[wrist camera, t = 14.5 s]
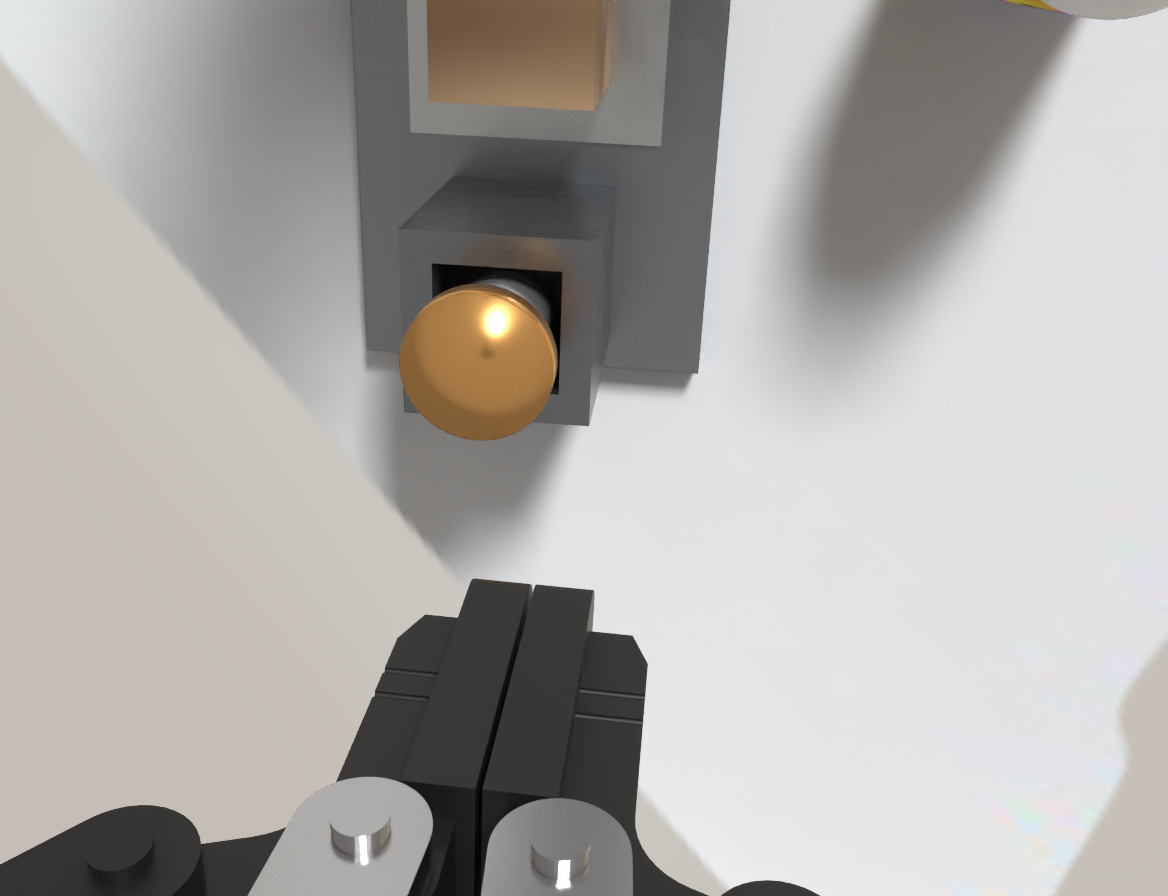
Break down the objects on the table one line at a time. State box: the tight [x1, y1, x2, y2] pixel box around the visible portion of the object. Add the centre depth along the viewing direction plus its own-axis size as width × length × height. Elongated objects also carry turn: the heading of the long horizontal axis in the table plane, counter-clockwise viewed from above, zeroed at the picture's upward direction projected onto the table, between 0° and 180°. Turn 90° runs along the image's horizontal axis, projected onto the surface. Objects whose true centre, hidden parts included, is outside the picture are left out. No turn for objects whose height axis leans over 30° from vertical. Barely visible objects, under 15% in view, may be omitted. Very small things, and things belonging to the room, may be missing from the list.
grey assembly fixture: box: [351, 0, 731, 426], centre depth 36 cm, size 18×13×9 cm
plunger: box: [399, 266, 563, 440], centre depth 36 cm, size 4×4×11 cm
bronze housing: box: [427, 0, 613, 111], centre depth 35 cm, size 5×5×6 cm
